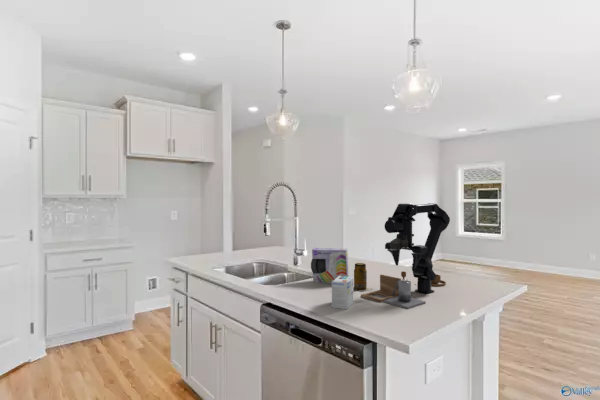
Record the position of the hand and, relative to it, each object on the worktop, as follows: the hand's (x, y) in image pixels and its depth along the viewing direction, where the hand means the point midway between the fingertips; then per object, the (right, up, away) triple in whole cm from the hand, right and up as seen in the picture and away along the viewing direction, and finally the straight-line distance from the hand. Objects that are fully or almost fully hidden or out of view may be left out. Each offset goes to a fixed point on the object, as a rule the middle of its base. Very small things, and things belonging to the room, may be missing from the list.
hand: (405, 266), depth 162 cm
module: (-3, -12, -10) cm, 16 cm away
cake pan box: (-32, -13, +26) cm, 43 cm away
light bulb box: (-29, -14, -13) cm, 35 cm away
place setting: (+18, -14, +25) cm, 34 cm away
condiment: (-18, -13, +13) cm, 26 cm away
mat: (-3, -13, -10) cm, 17 cm away
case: (-11, -13, -1) cm, 17 cm away
